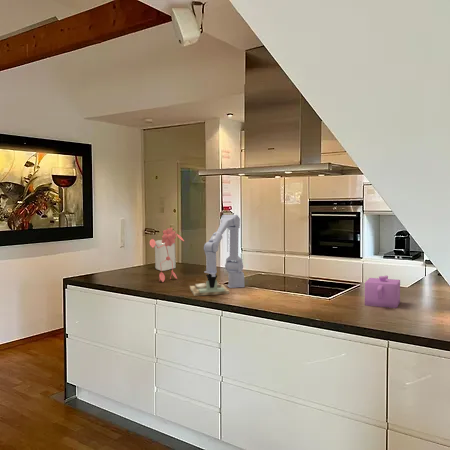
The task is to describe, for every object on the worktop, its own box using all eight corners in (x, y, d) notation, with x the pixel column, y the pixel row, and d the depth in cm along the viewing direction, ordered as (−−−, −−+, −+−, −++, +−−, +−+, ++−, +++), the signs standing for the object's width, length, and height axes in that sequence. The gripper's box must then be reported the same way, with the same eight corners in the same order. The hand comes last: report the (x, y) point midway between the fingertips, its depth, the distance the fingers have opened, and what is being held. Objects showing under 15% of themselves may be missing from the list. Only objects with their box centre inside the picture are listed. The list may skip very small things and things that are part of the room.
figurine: (148, 283, 300) (146, 228, 297) (178, 277, 319) (177, 226, 316) (163, 286, 290) (161, 230, 287) (193, 279, 308) (192, 226, 305)
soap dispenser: (163, 271, 342) (162, 241, 341) (148, 269, 350) (148, 240, 348) (176, 268, 355) (175, 239, 353) (162, 266, 363) (161, 238, 361)
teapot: (401, 299, 246) (401, 272, 245) (395, 310, 223) (395, 281, 222) (371, 296, 253) (371, 271, 251) (362, 307, 230) (363, 279, 229)
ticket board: (222, 286, 285) (222, 281, 285) (229, 293, 266) (229, 288, 266) (189, 288, 281) (189, 283, 281) (194, 295, 262) (194, 290, 262)
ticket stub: (222, 289, 269) (222, 278, 268) (224, 291, 264) (224, 280, 263) (198, 290, 266) (198, 280, 266) (199, 292, 261) (199, 281, 261)
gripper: (202, 261, 269) (202, 285, 270) (206, 265, 255) (206, 290, 256) (214, 261, 270) (214, 284, 271) (219, 265, 256) (219, 289, 257)
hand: (211, 287), depth 264 cm, fingers closed on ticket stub
